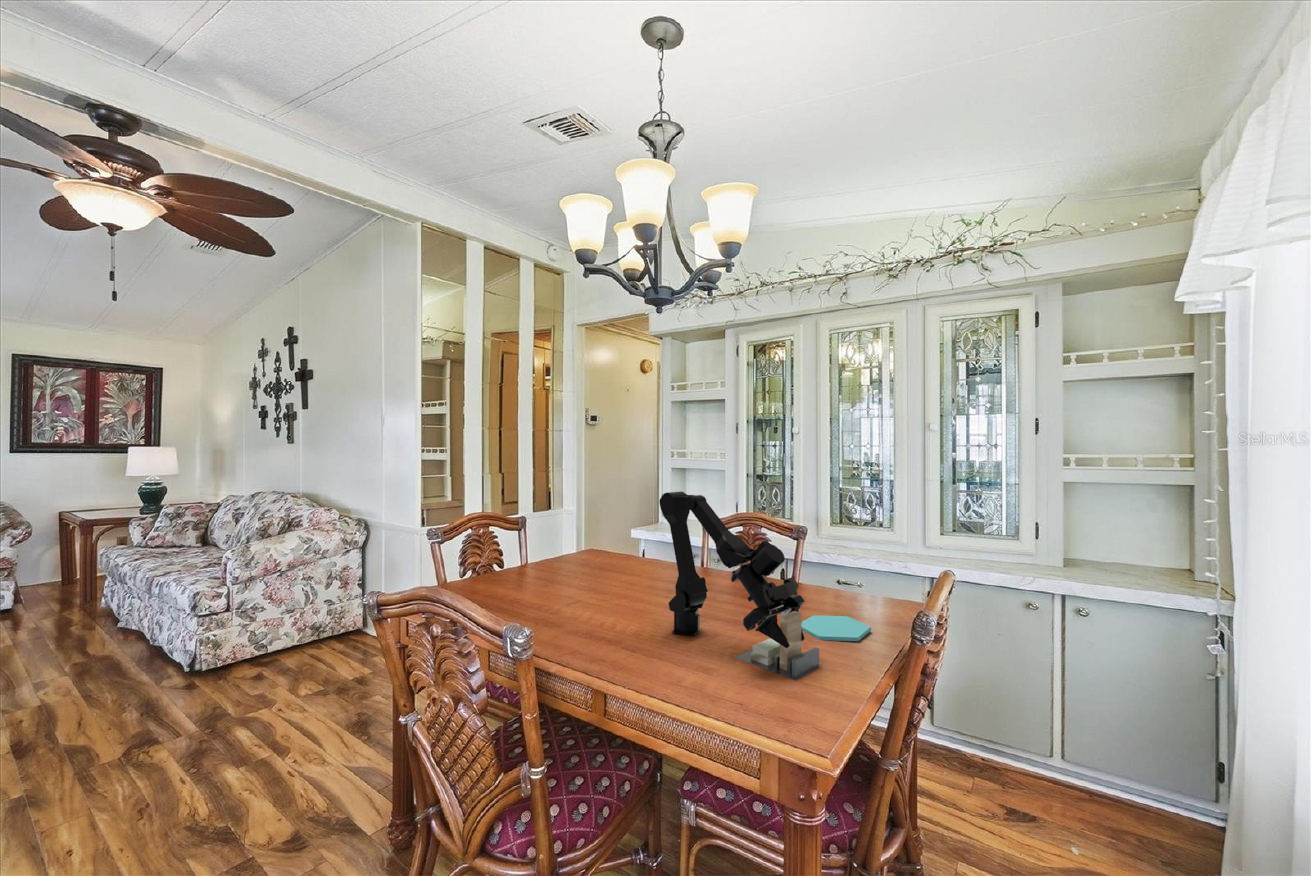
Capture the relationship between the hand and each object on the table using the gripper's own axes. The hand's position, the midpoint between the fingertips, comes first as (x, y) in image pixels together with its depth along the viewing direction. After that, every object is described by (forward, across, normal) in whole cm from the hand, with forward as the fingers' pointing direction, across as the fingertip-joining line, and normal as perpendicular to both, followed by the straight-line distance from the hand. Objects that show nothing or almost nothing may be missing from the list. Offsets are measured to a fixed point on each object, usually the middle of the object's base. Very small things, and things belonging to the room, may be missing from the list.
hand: (795, 643), depth 125 cm
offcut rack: (+1, 0, +8) cm, 8 cm away
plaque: (0, +32, +11) cm, 34 cm away
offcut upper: (-3, 0, +8) cm, 9 cm away
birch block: (+3, 0, +5) cm, 6 cm away
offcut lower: (-1, 0, +9) cm, 9 cm away
